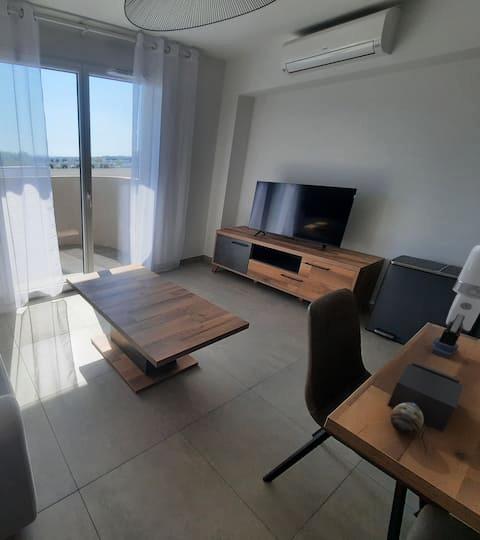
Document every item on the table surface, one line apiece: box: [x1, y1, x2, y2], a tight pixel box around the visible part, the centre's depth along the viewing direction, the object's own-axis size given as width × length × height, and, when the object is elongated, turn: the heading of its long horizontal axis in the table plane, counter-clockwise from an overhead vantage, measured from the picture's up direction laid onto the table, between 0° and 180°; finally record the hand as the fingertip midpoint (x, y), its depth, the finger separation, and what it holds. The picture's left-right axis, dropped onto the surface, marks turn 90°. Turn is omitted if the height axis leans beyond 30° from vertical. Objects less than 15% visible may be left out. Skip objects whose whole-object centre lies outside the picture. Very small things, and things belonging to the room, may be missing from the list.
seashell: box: [390, 403, 424, 436], centre depth 74 cm, size 10×6×8 cm, turn 125°
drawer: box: [411, 361, 461, 384], centre depth 84 cm, size 15×10×7 cm, turn 127°
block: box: [431, 337, 460, 360], centre depth 104 cm, size 10×6×4 cm, turn 127°
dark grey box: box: [387, 363, 464, 433], centre depth 80 cm, size 12×11×8 cm
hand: (446, 343), depth 87 cm, fingers closed
